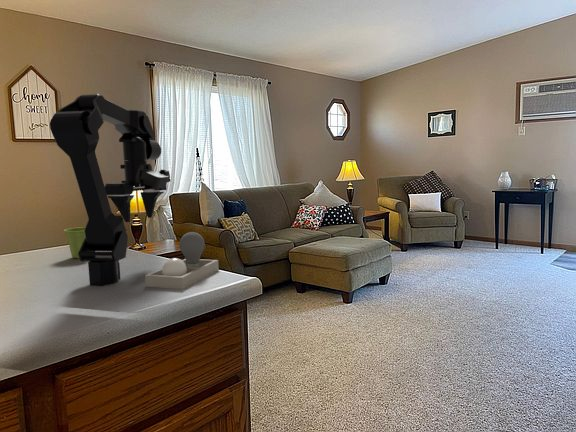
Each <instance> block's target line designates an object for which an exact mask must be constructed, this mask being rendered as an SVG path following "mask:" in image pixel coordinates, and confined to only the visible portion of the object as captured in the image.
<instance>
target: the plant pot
mask: <svg viewBox="0 0 576 432" xmlns="http://www.w3.org/2000/svg"><path fill="white" fill-rule="evenodd" d="M85 228H86V226H82V227H79V226H78V227H72V228H65V229H63V232H64V233H65V236H66V238H67V242H68V246H69V249H70V254H71V255H70V256H71V258H72V259H79V260H80V258H79V255H78V253H79V250H80V248H81V246H82V244H83V242H84V239H85V232H84V230H85Z"/></svg>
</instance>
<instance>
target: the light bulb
mask: <svg viewBox="0 0 576 432" xmlns="http://www.w3.org/2000/svg"><path fill="white" fill-rule="evenodd" d="M205 243H206V242H205V239H204V238H203V236H202V235H201V234H200V233H198V232H195V231H190V232H186V233H185V234H183V235H182V236H181V238H180V240H179V249H180V251H181V253H182V254H183V256H184V257H185V258H184V259H186V262H187V264H188V267H197V268H198V267H199V266H198V265H199V261H200V259H201V256H202V253H203V252H204V249H205V245H206V244H205Z"/></svg>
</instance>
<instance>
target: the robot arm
mask: <svg viewBox="0 0 576 432" xmlns="http://www.w3.org/2000/svg"><path fill="white" fill-rule="evenodd" d="M104 122H107V123H109V124H111V125H113V126H114V129H115V130H116V131H117V132H118V133H120V134H121V136H120V137H119V139H118V142H119V143H122V154H123V155H122V156H123V157H122V158H123V164H119V165H120V170H121V169H123V170H124V180H121V182H111V183H104V181H103V177H102V176H103V175H102V173H101V170H100V169H101V168H100V166H99V161H98V159H97V155H96V150H97V149H96V148H97V146H98V143H99V141H100V135H99V134H100V133H99V129H101V127H102V126H103V125H104ZM49 129H50V131H51V134H52V136H53V139H54V141H55V144H56V146H57V147H58V148H59V149H60V150H61V151H62V152H64V153H65V154H66V155H67V156H68V158H69V159H70V163H71V166H72V169H73V173H74V176H75V180H76V182H77V185H78V189H79V192H80V195H81V198H82V202H83V204H84V208H85V211H86V216H87V219H88V220H87V223H86V225H85V227H86V228H85V230H84V232H85V239H84V242H83V244H82V246H81V248H80V250H79V253H78V255H79V258H80V259H79V258H78V259H79V260H80V262H86V261H87V264H88V265H87V268H88V276H89V277H88V279H89V286H92V287H93V286H94V287H104V286H110V285H113V284H116V283H118V282H119V280H121V267H120V262H119V261H121V260H124V259H125V258H127V249H128V243H129V239H128V234H127V228H126V226H125V223H130V222H131V201H132V200H133V198H134V197H135V195H134V194H133V192H135V191H137V192H138V191H140V196H141V199H142V204H143V207H144V210H145V214H146V217H147V218H149V219H151V218H153V215H154V211H155V207H156V204H157V200H158V198H159V197H160V196H161V195H162V194H164V193H165V191H167V189H168V187H167V183H170V182H171V176H170V175H171V173H170V170H168V169H160V170H159V171H157V170H153V168H152V167H153V166H152V165H151V163H148V161H156V160H158V159H159V158H160V157H161V155H162V147H161V145H160V143H159V142H158V141H156V140H155V139H156V135H155V131H154V129H153V126H152V124H151V121H150V117H149V116H148V115H147V113H146V112H145V111H143V110H138V109H137V110H136V109H126V108H124V107H122V106H121V105H119V104H116V103H114V102H112V101H110V100H108V99H107V98H105V97H104V96H103V95H101V94H99V93H95V94H94V93H93V94H92V93H89V94H81V95H79V96H77V97H76V98H75V99H74V101H71V102H70V103H69V104H67V105H65V106H63V107H61V108H60V109H59V110H58V111H56V112H55V113H54V114H53V115H52V117H51V119H50V121H49ZM132 194H133V195H132ZM109 199H110V200H111V201H112V203H113V204H114V206H115V207H116V208H117V210H118V212H119V214H120V215H115V214H114V213H113V212H112V209H111V205H110V202H109Z"/></svg>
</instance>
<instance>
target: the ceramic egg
mask: <svg viewBox="0 0 576 432" xmlns="http://www.w3.org/2000/svg"><path fill="white" fill-rule="evenodd" d="M182 260H183V259H180V258H177V257H172V258H169V259H167V260H166V261H165V262H164V263H163V266H162V268H161V269H162V274H163V275H164V276H183V275H185V274H186V273H187V267H186V264H185V263H184V262H183V261H182Z"/></svg>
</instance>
